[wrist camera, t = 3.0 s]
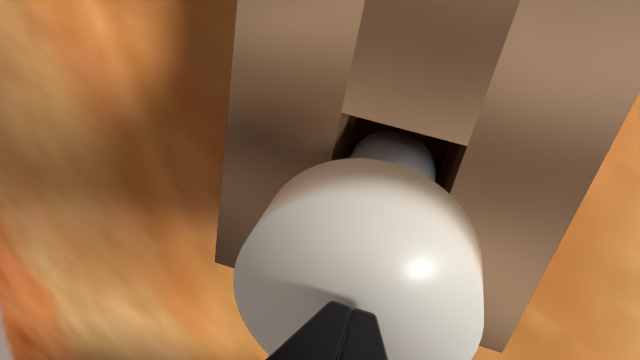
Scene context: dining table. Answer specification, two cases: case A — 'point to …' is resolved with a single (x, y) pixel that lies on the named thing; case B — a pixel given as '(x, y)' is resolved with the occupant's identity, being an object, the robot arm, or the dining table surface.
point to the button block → (437, 112)
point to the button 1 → (367, 253)
